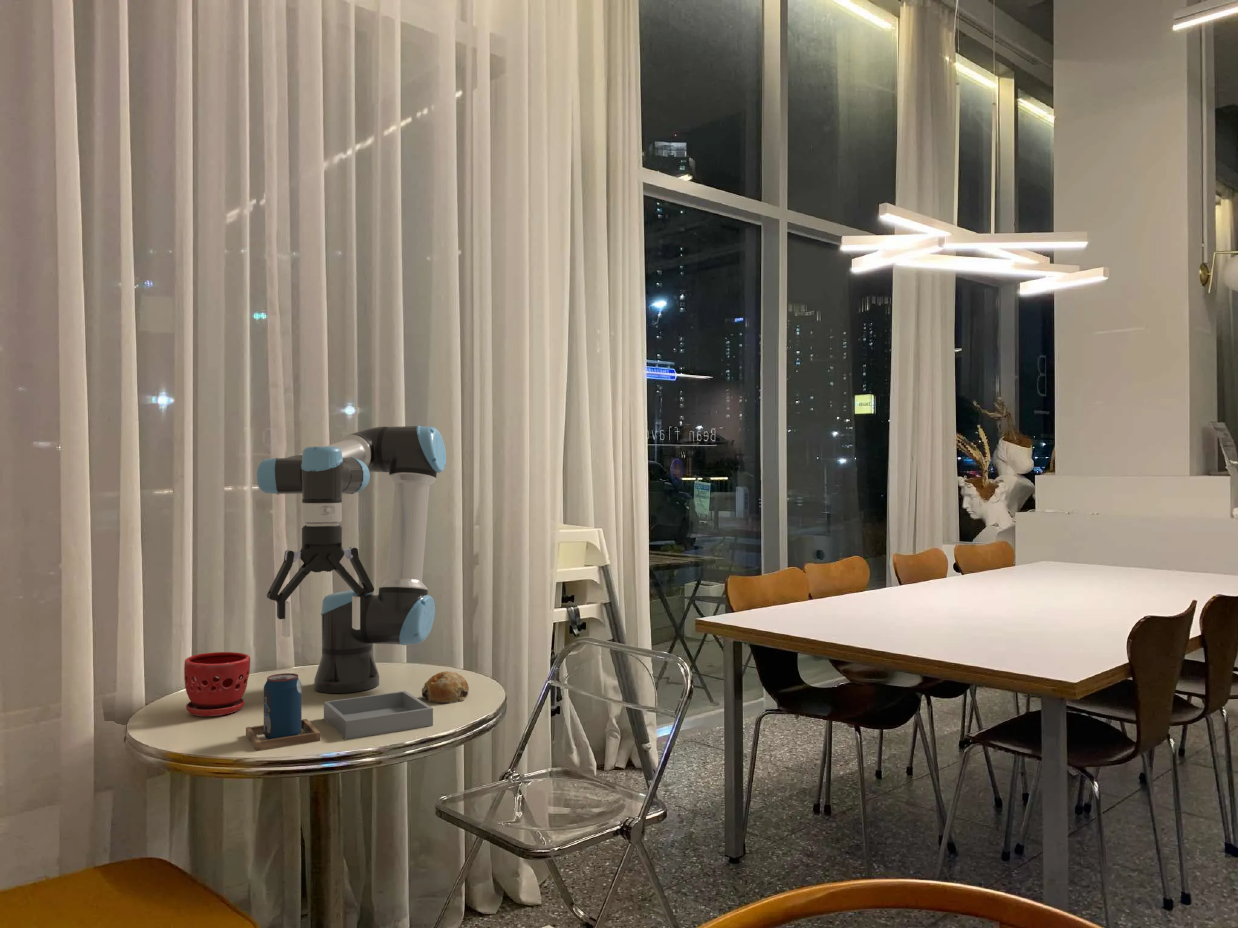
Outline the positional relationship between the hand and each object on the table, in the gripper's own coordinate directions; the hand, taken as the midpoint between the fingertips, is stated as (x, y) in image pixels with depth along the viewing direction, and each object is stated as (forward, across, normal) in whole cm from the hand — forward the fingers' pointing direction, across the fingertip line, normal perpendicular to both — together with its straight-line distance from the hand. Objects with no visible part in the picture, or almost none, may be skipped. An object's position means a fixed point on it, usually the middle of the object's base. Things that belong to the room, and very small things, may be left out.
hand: (321, 632), depth 174 cm
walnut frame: (+20, -7, +3) cm, 22 cm away
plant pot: (+20, -14, +31) cm, 40 cm away
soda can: (+20, -7, +3) cm, 22 cm away
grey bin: (+20, +12, +3) cm, 24 cm away
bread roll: (+21, +32, +14) cm, 40 cm away
